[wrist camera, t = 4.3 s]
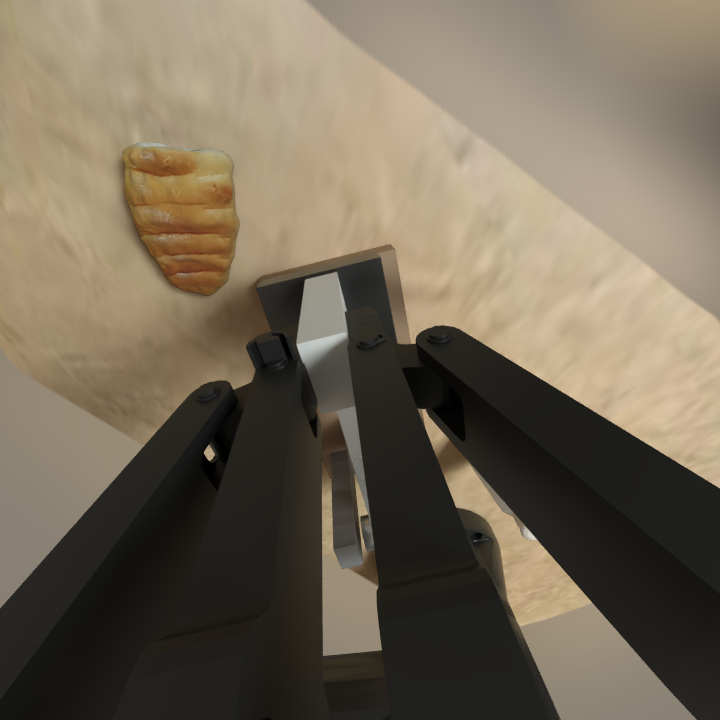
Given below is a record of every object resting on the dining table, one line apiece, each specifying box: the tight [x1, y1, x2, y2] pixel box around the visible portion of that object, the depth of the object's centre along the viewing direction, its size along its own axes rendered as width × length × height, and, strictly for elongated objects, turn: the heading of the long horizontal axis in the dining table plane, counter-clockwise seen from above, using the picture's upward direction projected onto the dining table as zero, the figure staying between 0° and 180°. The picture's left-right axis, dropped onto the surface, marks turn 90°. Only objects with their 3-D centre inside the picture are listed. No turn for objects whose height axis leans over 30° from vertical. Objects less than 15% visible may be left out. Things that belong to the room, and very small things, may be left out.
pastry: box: [122, 142, 240, 295], centre depth 22 cm, size 9×7×4 cm
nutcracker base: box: [257, 244, 425, 569], centre depth 25 cm, size 20×10×12 cm, turn 13°
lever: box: [256, 252, 397, 552], centre depth 21 cm, size 21×6×3 cm, turn 13°
